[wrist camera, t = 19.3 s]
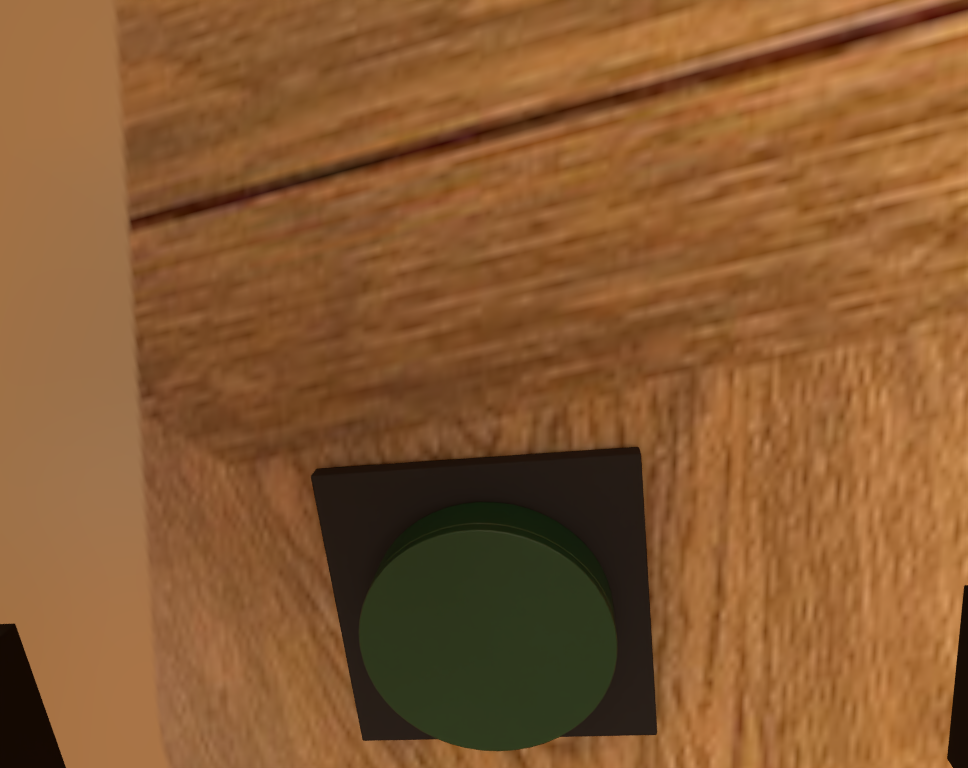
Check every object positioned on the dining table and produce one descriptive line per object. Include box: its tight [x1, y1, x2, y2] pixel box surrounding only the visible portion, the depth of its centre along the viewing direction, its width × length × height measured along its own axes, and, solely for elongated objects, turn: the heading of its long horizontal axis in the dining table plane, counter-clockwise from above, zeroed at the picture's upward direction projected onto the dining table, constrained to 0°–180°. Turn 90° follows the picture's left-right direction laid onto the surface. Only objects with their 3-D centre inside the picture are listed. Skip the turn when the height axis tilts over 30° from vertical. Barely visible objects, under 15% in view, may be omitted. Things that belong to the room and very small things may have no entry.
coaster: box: [311, 447, 657, 741], centre depth 24 cm, size 10×10×1 cm
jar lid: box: [359, 502, 618, 751], centre depth 23 cm, size 8×8×2 cm
